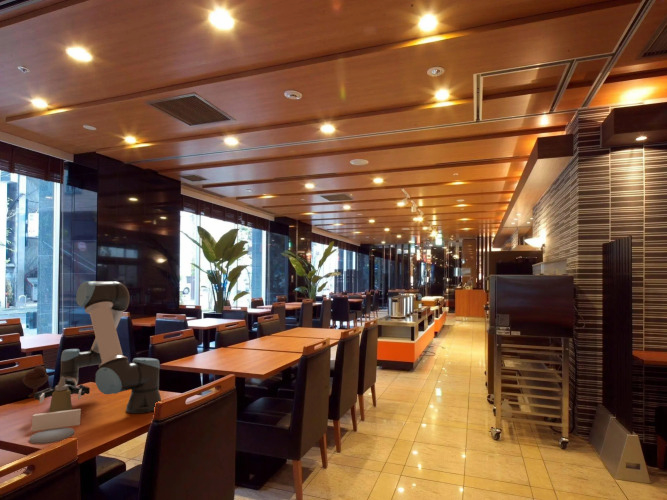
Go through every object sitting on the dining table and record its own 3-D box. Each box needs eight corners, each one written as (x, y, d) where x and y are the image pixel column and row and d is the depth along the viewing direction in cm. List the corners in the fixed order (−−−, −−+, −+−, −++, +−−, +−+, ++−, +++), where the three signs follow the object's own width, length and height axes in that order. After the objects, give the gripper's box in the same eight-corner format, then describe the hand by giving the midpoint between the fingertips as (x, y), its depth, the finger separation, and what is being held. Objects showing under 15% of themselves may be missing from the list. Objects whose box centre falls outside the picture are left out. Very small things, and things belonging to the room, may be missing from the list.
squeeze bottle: (52, 424, 165) (55, 380, 166) (45, 420, 170) (48, 377, 171) (74, 419, 171) (76, 376, 173) (66, 415, 176) (69, 374, 178)
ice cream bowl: (43, 391, 215) (45, 363, 216) (50, 395, 208) (52, 366, 209) (19, 396, 207) (21, 366, 208) (25, 400, 200) (27, 369, 201)
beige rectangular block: (80, 423, 166) (80, 408, 167) (79, 424, 164) (80, 409, 165) (32, 429, 159) (33, 414, 159) (31, 431, 157) (32, 415, 158)
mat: (82, 433, 156) (82, 430, 156) (44, 446, 143) (44, 443, 143) (59, 427, 161) (59, 425, 161) (21, 439, 149) (21, 437, 149)
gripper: (96, 391, 193) (94, 402, 174) (33, 398, 181) (23, 411, 162) (97, 375, 193) (95, 385, 175) (34, 381, 182) (24, 392, 163)
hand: (60, 397), depth 168 cm, fingers open, 13 cm apart
